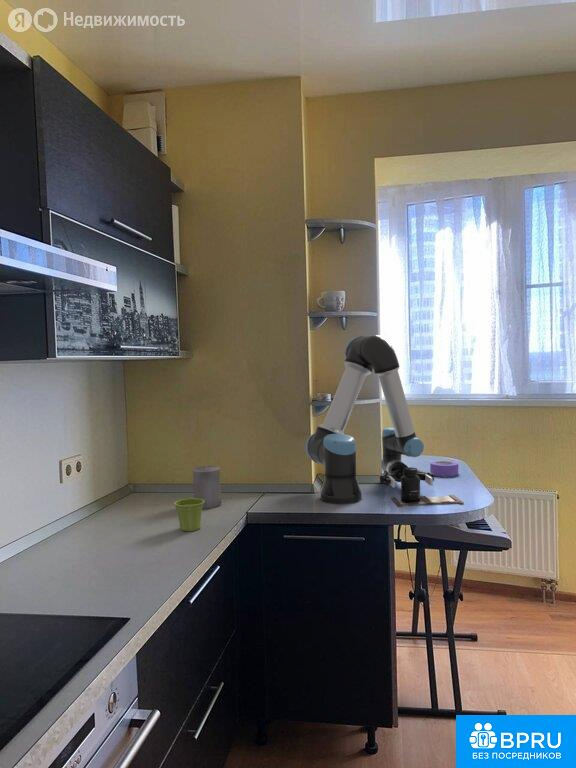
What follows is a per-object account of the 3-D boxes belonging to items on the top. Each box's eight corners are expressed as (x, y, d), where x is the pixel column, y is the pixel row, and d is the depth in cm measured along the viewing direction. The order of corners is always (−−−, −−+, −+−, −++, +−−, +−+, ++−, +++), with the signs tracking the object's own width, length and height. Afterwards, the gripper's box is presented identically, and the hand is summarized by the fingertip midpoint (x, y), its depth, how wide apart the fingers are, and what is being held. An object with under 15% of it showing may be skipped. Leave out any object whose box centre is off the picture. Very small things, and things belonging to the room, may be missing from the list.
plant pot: (173, 526, 186) (171, 500, 186) (201, 523, 190) (200, 496, 189) (178, 535, 178) (176, 507, 177) (208, 530, 181) (207, 503, 180)
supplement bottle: (415, 505, 203) (414, 471, 203) (397, 502, 207) (397, 469, 207) (423, 500, 209) (423, 467, 208) (406, 498, 213) (405, 465, 212)
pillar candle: (206, 500, 218) (204, 461, 217) (226, 503, 213) (224, 463, 212) (189, 507, 210) (186, 466, 209) (210, 510, 205) (208, 468, 204)
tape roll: (456, 471, 257) (456, 460, 257) (460, 477, 246) (460, 465, 245) (429, 471, 259) (428, 460, 259) (431, 477, 247) (431, 465, 247)
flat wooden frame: (398, 507, 201) (398, 504, 201) (391, 499, 212) (391, 496, 212) (463, 504, 202) (463, 501, 202) (453, 496, 213) (453, 493, 213)
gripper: (429, 478, 229) (447, 491, 208) (366, 481, 228) (378, 494, 206) (429, 460, 229) (447, 470, 208) (366, 462, 227) (378, 474, 206)
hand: (412, 482), depth 207 cm, fingers open, 13 cm apart
